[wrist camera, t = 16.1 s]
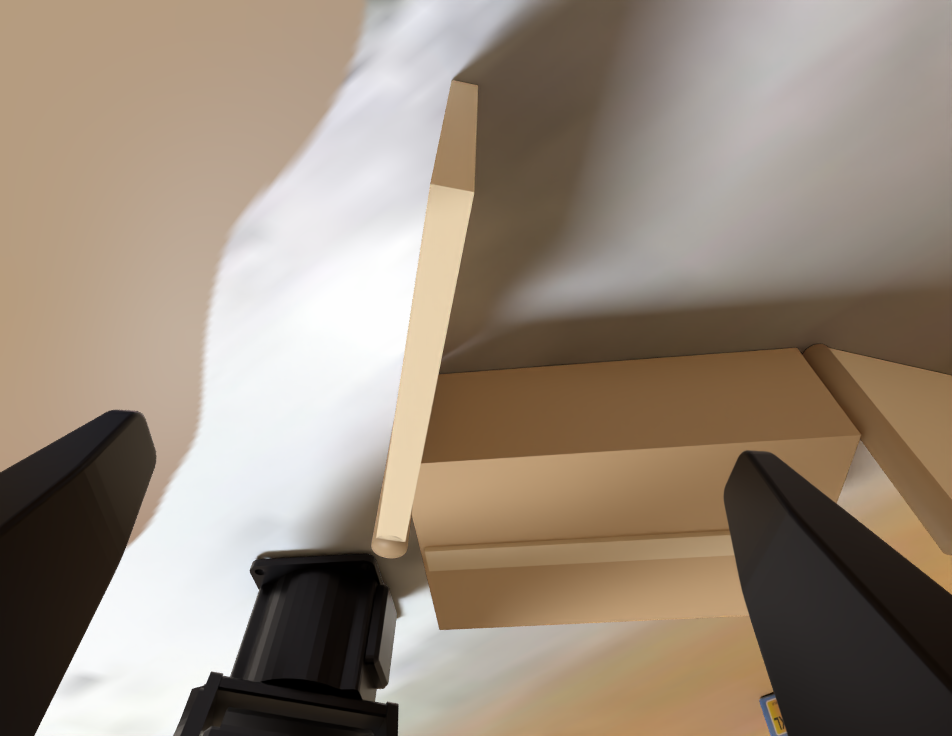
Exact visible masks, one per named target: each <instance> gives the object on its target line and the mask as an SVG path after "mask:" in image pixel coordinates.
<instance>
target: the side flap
mask: <svg viewBox="0 0 952 736" xmlns="http://www.w3.org/2000/svg"><path fill="white" fill-rule="evenodd" d="M477 105H478V85H474V84H469V83H464V82H460V81H455V80H452V81H451V86H450V91H449V96H448V101H447V106H446V110H445V115H444V120H443V125H442V130H441V135H440V140H439V144H438V149H437V154H436V159H435V164H434V169H433V174H432V178H431V183H430V190H429V196H428V203H427V209H426V216H425V222H424V229H423V235H422V242H421V248H420V255H419V261H418V268H417V274H416V281H415V287H414V294H413V300H412V307H411V313H410V320H409V327H408V333H407V340H406V346H405V353H404V359H403V366H402V372H401V379H400V385H399V392H398V398H397V405H396V411H395V417H394V423H393V428H392V434H391V439H390V445H389V450H388V456H387V461H386V467H385V472H384V478H383V483H382V489H381V494H380V500H379V505H378V511H377V516H376V522H375V527H374V533H373V538H372V544H371V547H372V550H373V551H374V552H375V553H376V554H377V555H379V556H381V557H384V558H398V557H401V556H403V555H404V554H405V553H406V552H407V549H408V540H409V532H410V524H411V516H412V508H413V500H414V495H415V490H416V485H417V480H418V475H419V470H420V465H421V460H422V455H423V449H424V444H425V439H426V434H427V429H428V424H429V419H430V414H431V409H432V404H433V399H434V394H435V389H436V384H437V379H438V374H439V369H440V364H441V358H442V353H443V348H444V343H445V338H446V333H447V328H448V323H449V318H450V313H451V308H452V303H453V298H454V293H455V288H456V283H457V278H458V273H459V267H460V262H461V257H462V252H463V247H464V242H465V237H466V232H467V227H468V222H469V217H470V212H471V207H472V202H473V197H474V189H475V161H476V133H477Z"/></svg>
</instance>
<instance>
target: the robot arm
mask: <svg viewBox="0 0 952 736" xmlns="http://www.w3.org/2000/svg"><path fill="white" fill-rule="evenodd" d="M155 464H156V450H155V447H154V444H153V441H152V438H151V434H150V431H149V428H148V425H147V422H146V419H145V417H144V415H143V414H142V413H140V412H138V411H130V410H111V411H108V412H106V413H104V414H102V415H101V416H99V417H97V418H95V419H94V420H92V421H90V422H88V423H87V424H85V425H83V426H81V427H79V428H78V429H76V430H74V431H72V432H71V433H69V434H67V435H65V436H64V437H62V438H60V439H58V440H57V441H55V442H53V443H51V444H50V445H48V446H46V447H44V448H43V449H41V450H39V451H37V452H36V453H34V454H32V455H30V456H29V457H27V458H25V459H23V460H21V461H20V462H18V463H16V464H14V465H13V466H11V467H9V468H7V469H6V470H4V471H2V472H0V736H34V735H35V733H36V731H37V729H38V727H39V725H40V723H41V721H42V719H43V717H44V715H45V713H46V711H47V709H48V707H49V705H50V703H51V701H52V699H53V697H54V695H55V693H56V691H57V689H58V687H59V685H60V683H61V681H62V679H63V677H64V675H65V673H66V671H67V669H68V667H69V664H70V662H71V660H72V658H73V656H74V654H75V652H76V650H77V648H78V646H79V644H80V642H81V640H82V638H83V636H84V634H85V632H86V630H87V628H88V626H89V624H90V622H91V620H92V618H93V616H94V614H95V612H96V610H97V608H98V606H99V604H100V602H101V600H102V598H103V596H104V594H105V592H106V590H107V588H108V586H109V584H110V582H111V580H112V578H113V575H114V573H115V571H116V569H117V567H118V565H119V563H120V560H121V558H122V556H123V553H124V551H125V548H126V546H127V543H128V540H129V538H130V535H131V532H132V529H133V526H134V524H135V521H136V518H137V515H138V513H139V510H140V507H141V504H142V501H143V498H144V496H145V493H146V490H147V488H148V485H149V482H150V479H151V477H152V474H153V471H154V468H155ZM723 498H724V506H725V511H726V516H727V521H728V526H729V531H730V536H731V541H732V546H733V551H734V556H735V561H736V566H737V571H738V576H739V580H740V585H741V589H742V593H743V597H744V600H745V603H746V607H747V610H748V613H749V616H750V619H751V623H752V626H753V629H754V632H755V635H756V638H757V641H758V644H759V647H760V651H761V654H762V657H763V660H764V663H765V666H766V669H767V672H768V676H769V679H770V682H771V685H772V688H773V691H774V694H775V697H776V701H777V704H778V707H779V710H780V713H781V716H782V719H783V722H784V725H785V729H786V732H787V735H788V736H952V595H951V594H950V593H949V592H948V591H946V590H945V589H944V588H943V587H941V586H940V585H939V584H938V583H936V582H935V581H934V580H932V579H931V578H930V577H929V576H927V575H926V574H925V573H924V572H922V571H921V570H920V569H919V568H917V567H916V566H915V565H914V564H912V563H911V562H910V561H908V560H907V559H906V558H905V557H903V556H902V555H901V554H900V553H898V552H897V551H896V550H895V549H893V548H892V547H891V546H889V545H888V544H887V543H886V542H884V541H883V540H882V539H881V538H879V537H878V536H877V535H876V534H874V533H873V532H872V531H871V530H869V529H868V528H867V527H865V526H864V525H863V524H862V523H860V522H859V521H858V520H857V519H855V518H854V517H853V516H852V515H850V514H849V513H848V512H847V511H845V510H844V509H843V508H841V507H840V506H839V505H838V504H836V503H835V502H834V501H833V500H831V499H830V498H829V497H828V496H826V495H825V494H824V493H823V492H821V491H820V490H819V489H817V488H816V487H815V486H814V485H812V484H811V483H810V482H809V481H807V480H806V479H805V478H804V477H802V476H801V475H800V474H799V473H797V472H796V471H795V470H793V469H792V468H791V467H790V466H788V465H787V464H786V463H785V462H783V461H782V460H781V459H780V458H778V457H777V456H776V455H774V454H773V453H771V452H767V451H753V450H746V451H743V452H742V453H741V454H740V455H739V457H738V458H737V461H736V463H735V465H734V467H733V470H732V472H731V474H730V476H729V478H728V481H727V483H726V485H725V488H724V495H723ZM250 573H251V575H252V577H253V579H254V581H255V583H256V585H257V587H258V589H259V592H258V595H257V598H256V601H255V604H254V607H253V610H252V613H251V616H250V619H249V622H248V625H247V628H246V631H245V634H244V637H243V640H242V643H241V646H240V649H239V652H238V655H237V658H236V661H235V664H234V667H233V669H232V672H231V675H230V677H227V676H223V673H217V672H211V673H210V676H209V678H208V680H207V683H206V684H204V686H201V687H197V688H194V689H192V691H191V693H190V696H189V698H188V701H187V704H186V706H185V709H184V712H183V714H182V717H181V719H180V722H179V724H178V726H177V729H176V731H175V733H174V735H173V736H398V704H397V703H392V702H387V703H386V704H385V703H379V702H375V697H376V690H377V689H384V688H385V687H386V686H387V684H388V682H389V674H390V666H391V658H392V650H393V642H394V634H395V626H396V618H397V612H396V609H395V606H394V602H393V599H392V596H391V592H390V589H389V588H388V586H387V585H386V584H383V581H382V578H381V574H380V571H379V568H378V565H377V562H376V559H375V557H373V556H372V555H369V554H352V555H333V556H315V557H297V558H279V559H261V560H255V561H254V562H253V563H252V565H251V568H250Z"/></svg>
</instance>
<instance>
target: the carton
mask: <svg viewBox="0 0 952 736" xmlns="http://www.w3.org/2000/svg"><path fill="white" fill-rule="evenodd" d="M860 437H861V434H860V433H859V431H858V430H857V429H856V427H855V426H854V425H853V423H852V422H851V420H850V419H849V418H848V416H847V415H846V414H845V412H844V411H843V410H842V408H841V407H840V406H839V404H838V403H837V402H836V400H835V399H834V397H833V396H832V395H831V393H830V392H829V391H828V389H827V388H826V387H825V385H824V384H823V383H822V381H821V380H820V378H819V377H818V376H817V374H816V373H815V372H814V370H813V369H812V368H811V366H810V365H809V364H808V362H807V361H806V360H805V358H804V357H803V355H802V354H801V353H800V351H799V350H798V349H797V348H786V349H772V350H759V351H745V352H732V353H719V354H705V355H692V356H678V357H665V358H651V359H638V360H625V361H611V362H598V363H584V364H571V365H557V366H544V367H531V368H517V369H504V370H490V371H477V372H463V373H450V374H438V379H437V384H436V389H435V394H434V399H433V404H432V409H431V414H430V419H429V424H428V429H427V434H426V439H425V444H424V449H423V455H422V460H421V465H420V470H419V475H418V480H417V485H416V490H415V495H414V500H413V508H412V517H413V522H414V526H415V530H416V534H417V538H418V542H419V546H420V551H421V555H422V559H423V563H424V567H425V571H426V575H427V580H428V584H429V588H430V592H431V596H432V600H433V605H434V609H435V613H436V617H437V621H438V625H439V629H440V630H450V629H472V628H493V627H515V626H537V625H558V624H580V623H601V622H623V621H645V620H666V619H688V618H710V617H731V616H749V613H748V610H747V607H746V603H745V600H744V597H743V593H742V589H741V585H740V580H739V576H738V571H737V566H736V561H735V556H734V551H733V546H732V541H731V536H730V531H729V526H728V521H727V516H726V511H725V506H724V498H723V495H724V488H725V485H726V483H727V481H728V478H729V476H730V474H731V472H732V470H733V467H734V465H735V463H736V461H737V458H738V457H739V455H740V454H741V453H742V452H743V451H746V450H753V451H767V452H771V453H773V454H774V455H776V456H777V457H778V458H780V459H781V460H782V461H783V462H785V463H786V464H787V465H788V466H790V467H791V468H792V469H793V470H795V471H796V472H797V473H799V474H800V475H801V476H802V477H804V478H805V479H806V480H807V481H809V482H810V483H811V484H812V485H814V486H815V487H816V488H817V489H819V490H820V491H821V492H823V493H824V494H825V495H826V496H828V497H829V498H830V499H831V500H833V501H834V502H835V503H836V504H837V501H838V498H839V495H840V493H841V490H842V487H843V484H844V481H845V479H846V476H847V473H848V470H849V467H850V465H851V462H852V459H853V456H854V454H855V451H856V448H857V445H858V442H859V440H860Z"/></svg>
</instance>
